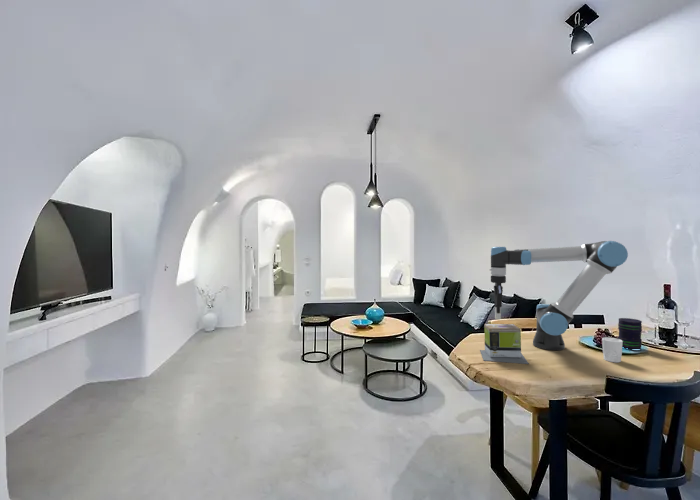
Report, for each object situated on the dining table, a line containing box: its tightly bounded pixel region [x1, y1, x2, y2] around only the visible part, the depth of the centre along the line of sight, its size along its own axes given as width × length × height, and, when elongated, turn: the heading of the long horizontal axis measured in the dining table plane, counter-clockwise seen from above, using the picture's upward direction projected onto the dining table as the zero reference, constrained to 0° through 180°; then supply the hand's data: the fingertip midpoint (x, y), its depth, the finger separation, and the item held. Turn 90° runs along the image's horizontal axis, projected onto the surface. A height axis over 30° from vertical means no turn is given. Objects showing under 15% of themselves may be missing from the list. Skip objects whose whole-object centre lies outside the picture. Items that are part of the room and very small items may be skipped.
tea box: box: [483, 323, 522, 358], centre depth 175 cm, size 15×10×15 cm
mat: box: [479, 349, 530, 365], centre depth 172 cm, size 20×16×1 cm
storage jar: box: [617, 317, 643, 350], centre depth 185 cm, size 10×10×15 cm
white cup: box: [601, 336, 623, 363], centre depth 166 cm, size 8×8×10 cm
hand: (497, 318), depth 186 cm, fingers closed
